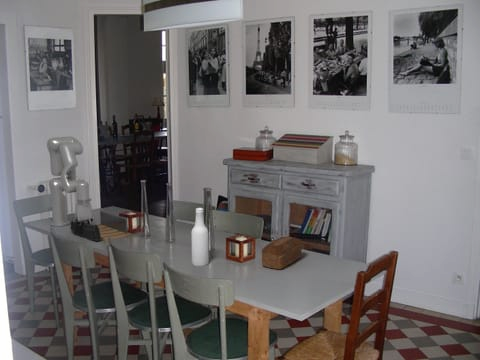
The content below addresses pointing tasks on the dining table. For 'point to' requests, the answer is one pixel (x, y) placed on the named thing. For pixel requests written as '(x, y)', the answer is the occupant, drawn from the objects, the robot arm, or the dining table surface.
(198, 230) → the alcohol
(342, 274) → the dining table surface
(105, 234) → the shelf board
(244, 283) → the dining table surface
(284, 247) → the bread
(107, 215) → the shelf wall
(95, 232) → the magazine
